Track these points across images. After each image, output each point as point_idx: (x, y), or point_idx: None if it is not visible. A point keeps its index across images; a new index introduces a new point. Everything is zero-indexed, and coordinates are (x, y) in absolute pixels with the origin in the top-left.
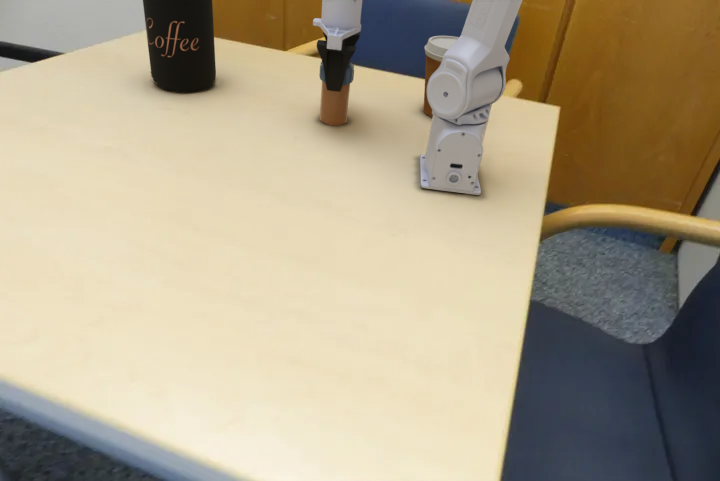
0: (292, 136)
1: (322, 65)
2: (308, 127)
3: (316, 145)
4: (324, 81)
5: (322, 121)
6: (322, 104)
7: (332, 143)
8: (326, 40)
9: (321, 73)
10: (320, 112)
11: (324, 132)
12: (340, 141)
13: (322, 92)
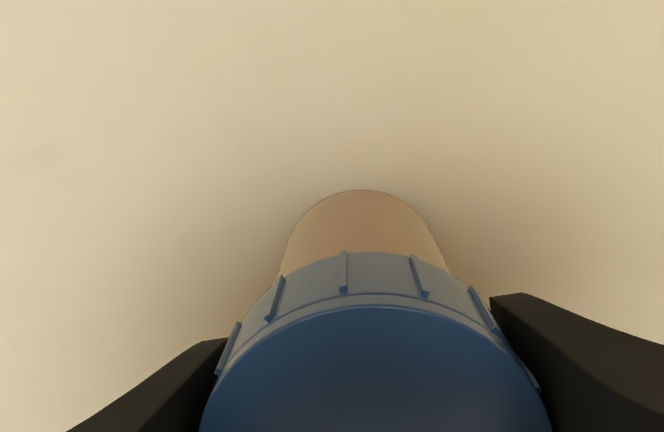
0: (45, 135)
1: (245, 353)
2: (199, 173)
3: (19, 276)
4: (237, 326)
5: (298, 223)
6: (294, 244)
7: (83, 336)
8: (657, 419)
9: (264, 308)
10: (316, 212)
11: (183, 267)
12: (125, 363)
13: (294, 263)
